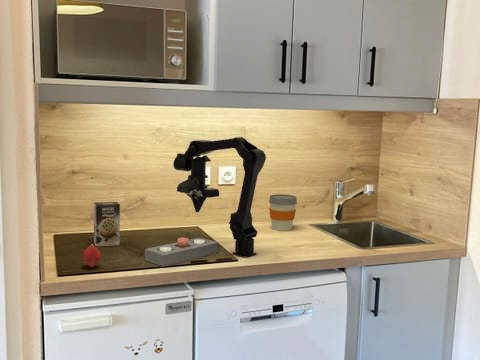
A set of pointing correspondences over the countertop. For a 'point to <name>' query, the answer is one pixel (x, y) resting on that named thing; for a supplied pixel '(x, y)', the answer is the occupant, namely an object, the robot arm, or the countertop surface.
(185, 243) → the button red middle
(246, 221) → the robot arm
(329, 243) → the countertop surface
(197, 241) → the button pale right
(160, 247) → the button pale left
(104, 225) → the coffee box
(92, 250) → the onion
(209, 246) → the button panel
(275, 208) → the reusable coffee cup
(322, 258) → the countertop surface
